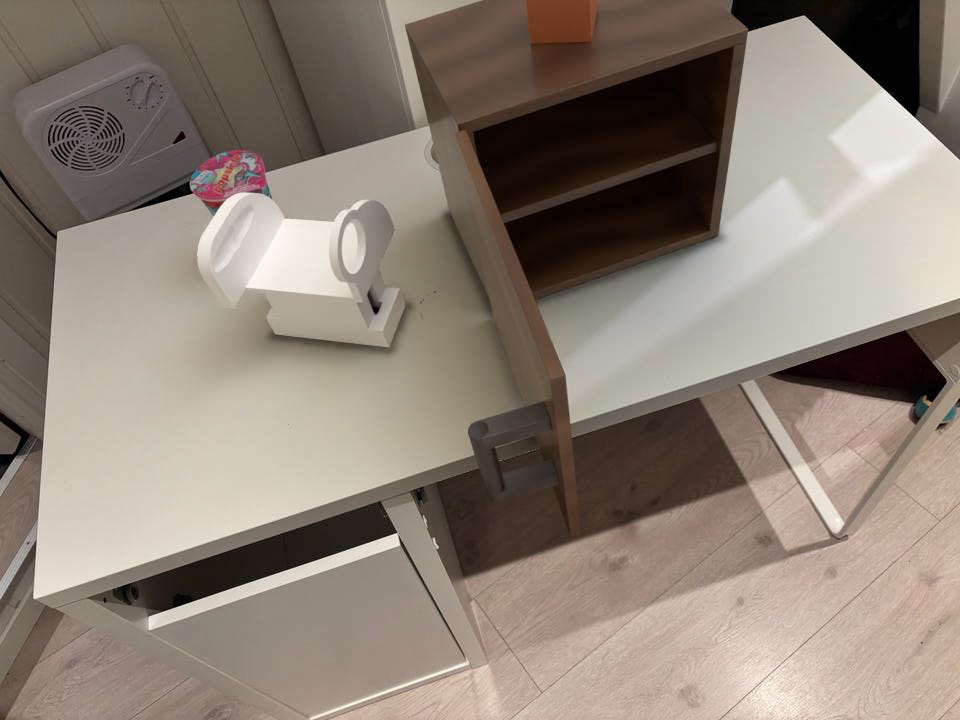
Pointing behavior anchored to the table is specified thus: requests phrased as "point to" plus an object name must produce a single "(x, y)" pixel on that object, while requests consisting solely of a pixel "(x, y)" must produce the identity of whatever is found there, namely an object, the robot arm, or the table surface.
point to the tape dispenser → (305, 268)
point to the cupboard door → (519, 365)
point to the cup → (229, 178)
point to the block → (561, 20)
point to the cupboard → (586, 129)
